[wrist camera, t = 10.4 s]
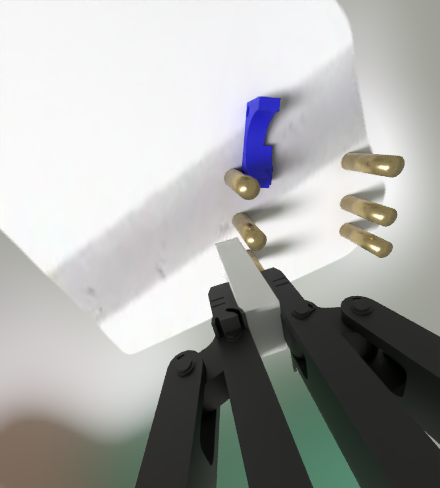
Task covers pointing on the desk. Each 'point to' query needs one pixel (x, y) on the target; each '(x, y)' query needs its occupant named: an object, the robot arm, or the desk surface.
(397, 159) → the spacers
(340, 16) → the desk surface
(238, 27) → the desk surface
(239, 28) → the desk surface
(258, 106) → the blue curved block
